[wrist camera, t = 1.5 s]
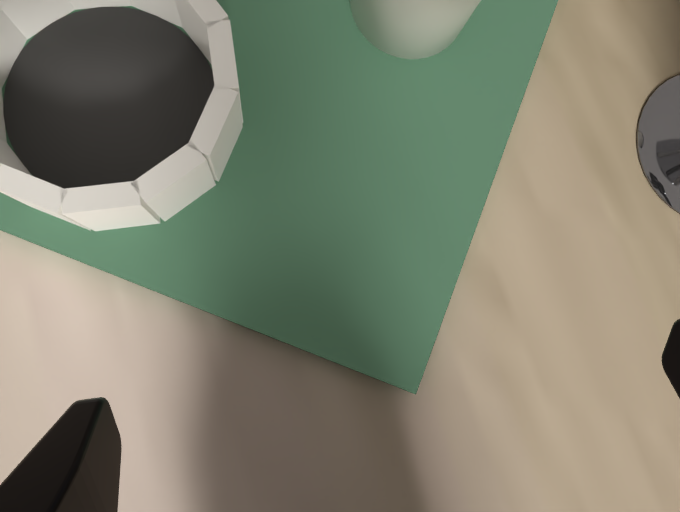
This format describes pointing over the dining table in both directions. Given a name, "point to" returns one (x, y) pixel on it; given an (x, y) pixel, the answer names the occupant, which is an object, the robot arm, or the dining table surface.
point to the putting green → (263, 159)
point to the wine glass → (662, 141)
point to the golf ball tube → (411, 24)
